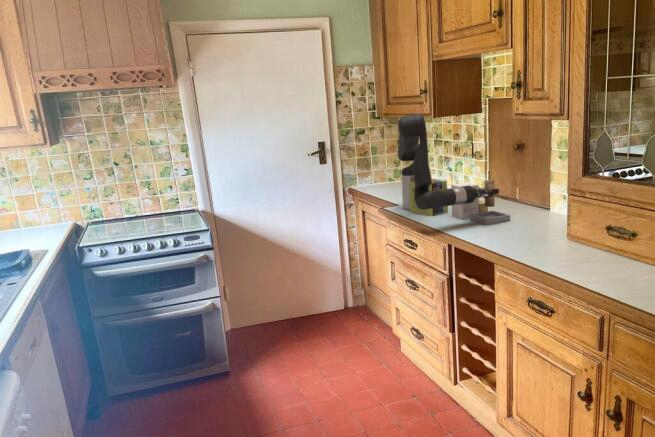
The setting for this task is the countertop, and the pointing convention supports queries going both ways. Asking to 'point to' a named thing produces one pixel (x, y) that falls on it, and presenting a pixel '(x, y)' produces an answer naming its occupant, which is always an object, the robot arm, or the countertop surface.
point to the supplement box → (465, 209)
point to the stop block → (482, 207)
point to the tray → (489, 217)
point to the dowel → (490, 200)
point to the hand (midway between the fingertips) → (494, 190)
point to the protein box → (434, 186)
